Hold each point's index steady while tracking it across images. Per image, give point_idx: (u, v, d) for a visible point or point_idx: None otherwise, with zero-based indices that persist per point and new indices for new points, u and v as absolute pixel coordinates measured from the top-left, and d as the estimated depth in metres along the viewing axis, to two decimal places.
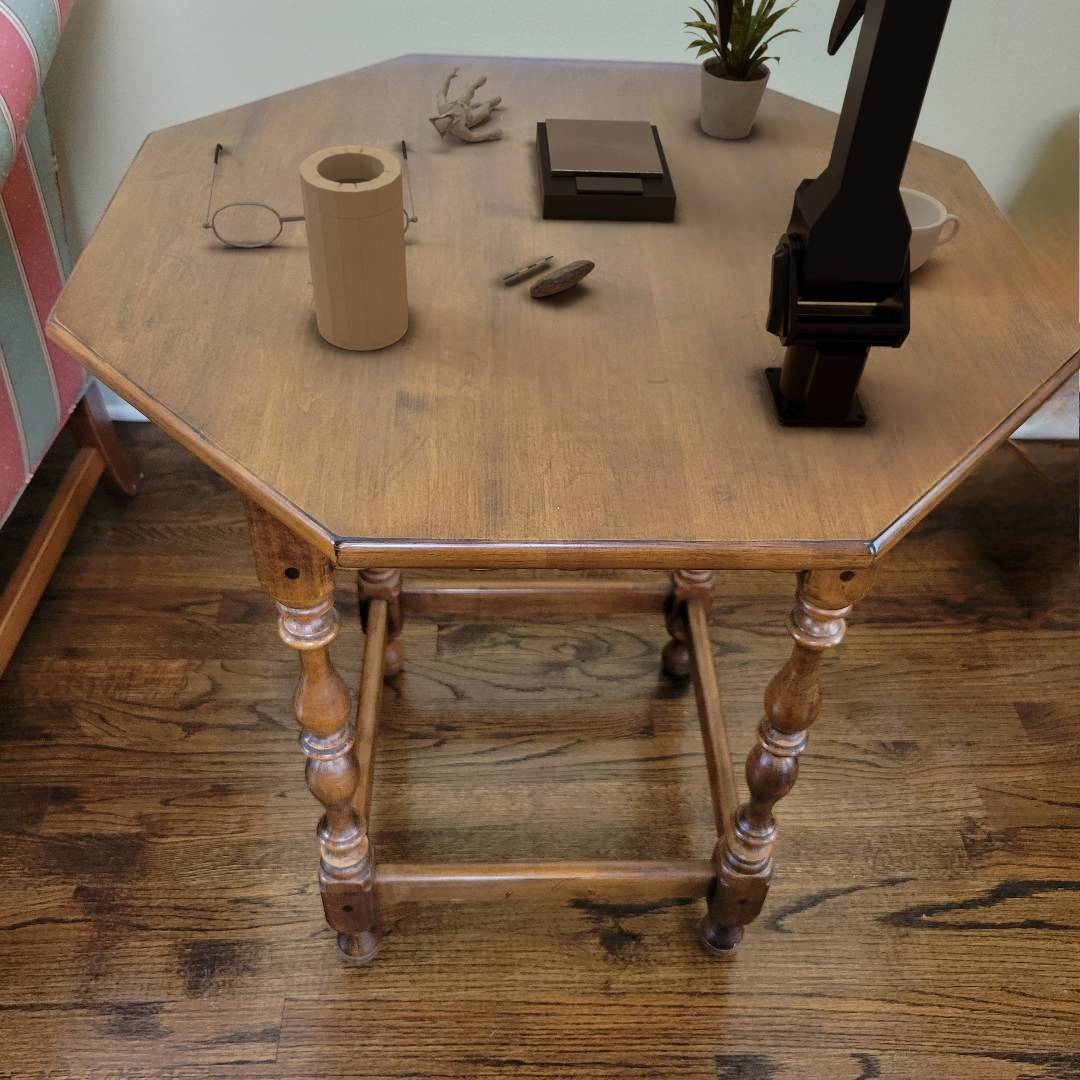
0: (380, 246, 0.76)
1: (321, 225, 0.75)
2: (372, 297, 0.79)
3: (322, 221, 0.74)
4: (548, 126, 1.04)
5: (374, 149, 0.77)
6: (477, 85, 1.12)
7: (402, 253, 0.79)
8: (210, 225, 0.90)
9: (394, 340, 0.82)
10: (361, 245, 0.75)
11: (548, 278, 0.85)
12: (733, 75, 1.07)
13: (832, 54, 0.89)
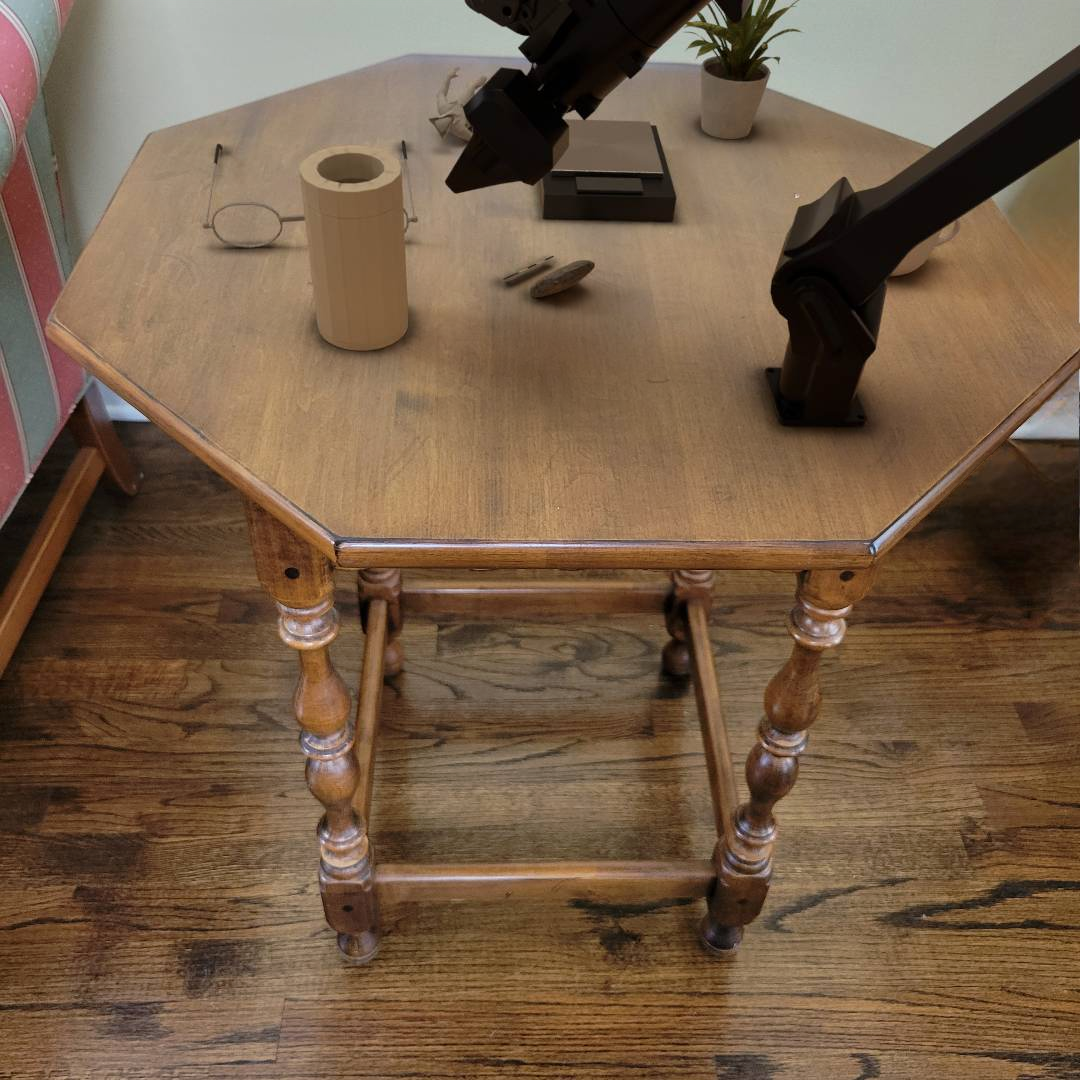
0: (380, 246, 0.76)
1: (321, 225, 0.75)
2: (372, 297, 0.79)
3: (322, 221, 0.74)
4: None
5: (374, 149, 0.77)
6: (477, 85, 1.12)
7: (402, 253, 0.79)
8: (210, 225, 0.90)
9: (394, 340, 0.82)
10: (361, 245, 0.75)
11: (548, 278, 0.85)
12: (733, 75, 1.07)
13: None
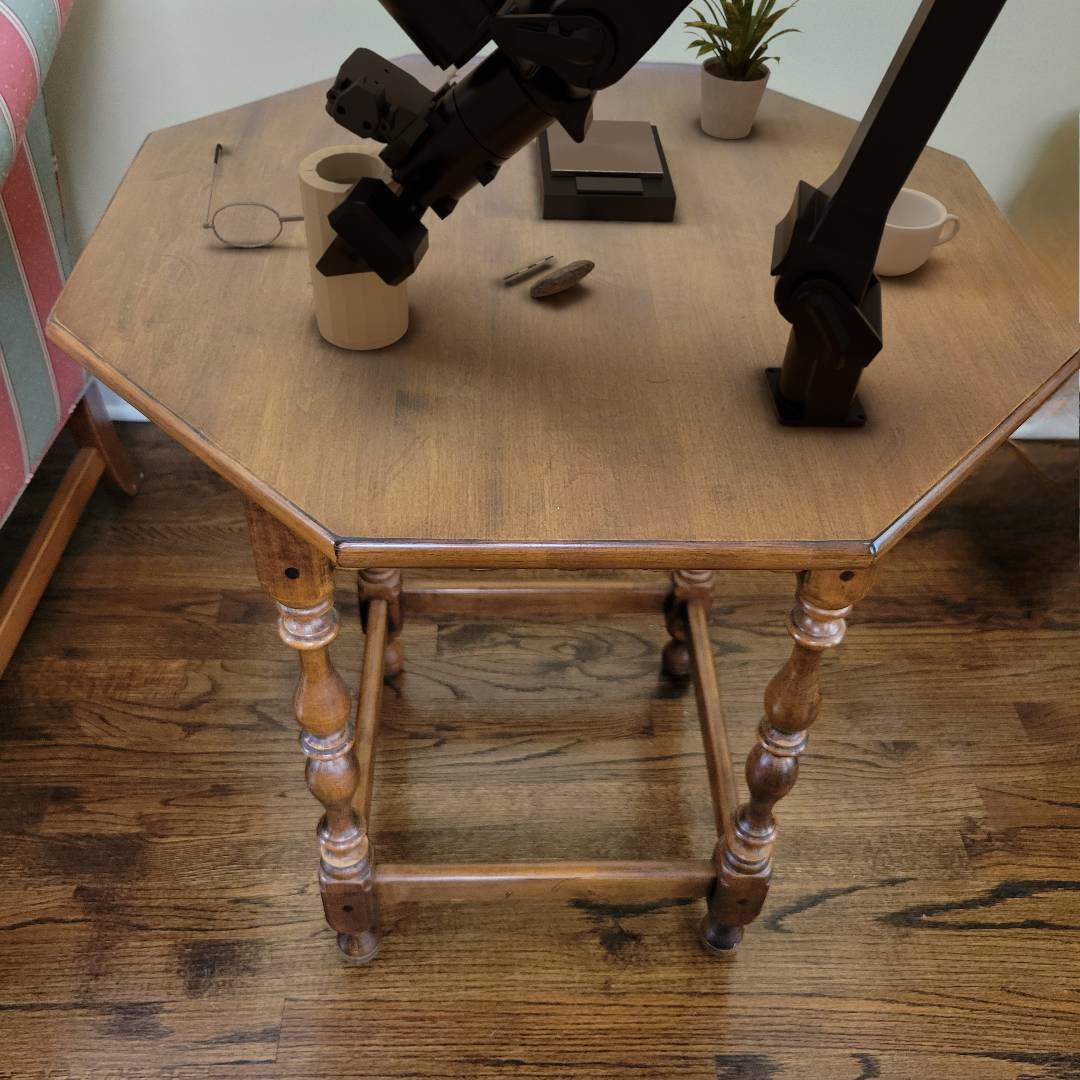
0: None
1: (320, 226, 0.75)
2: (371, 297, 0.78)
3: (320, 222, 0.74)
4: None
5: (373, 149, 0.77)
6: None
7: None
8: (210, 225, 0.90)
9: (394, 339, 0.82)
10: None
11: (548, 278, 0.85)
12: (733, 75, 1.07)
13: None
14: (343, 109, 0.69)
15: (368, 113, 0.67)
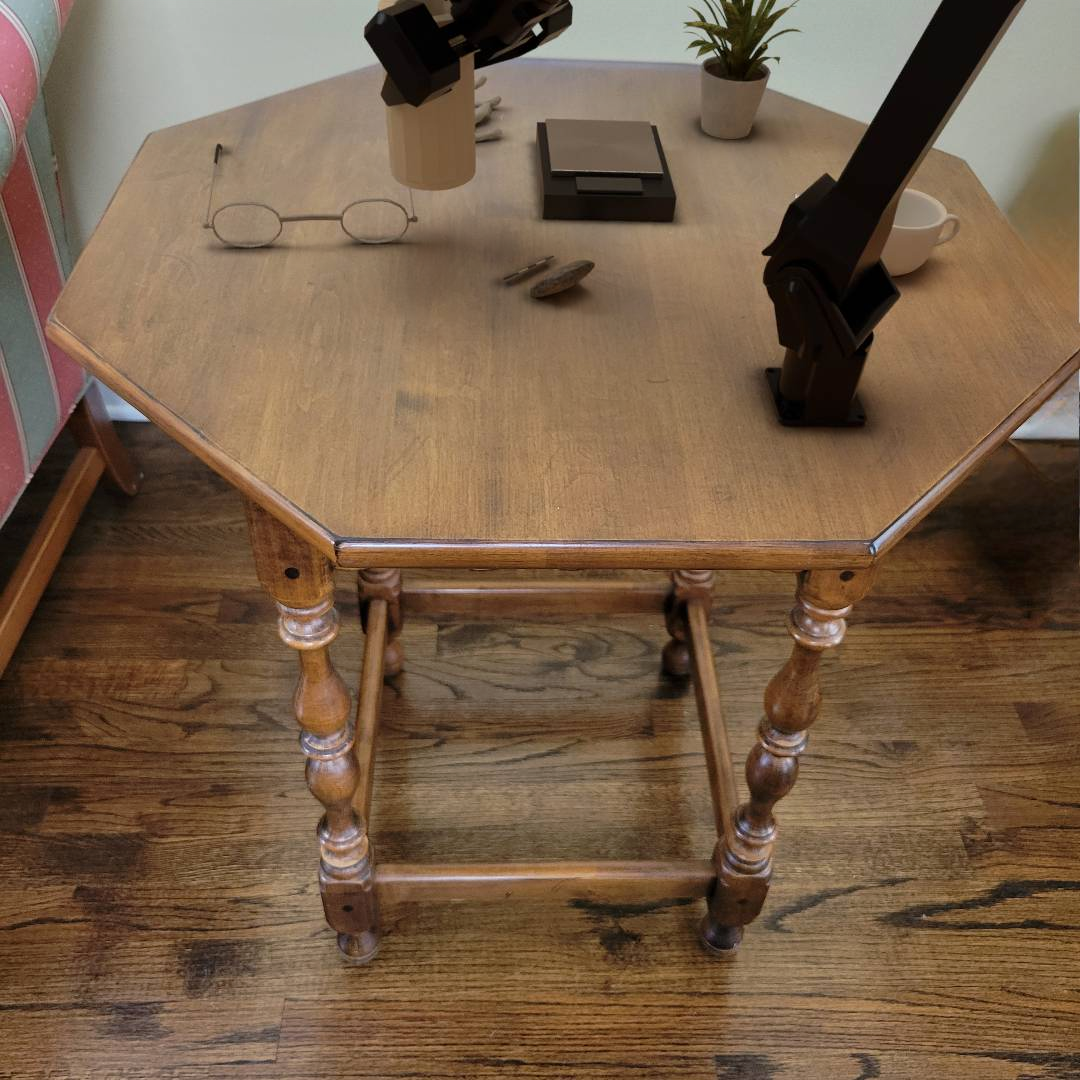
0: None
1: None
2: (427, 135, 0.83)
3: None
4: (548, 126, 1.04)
5: None
6: (477, 85, 1.12)
7: (464, 99, 0.82)
8: (210, 225, 0.90)
9: (450, 186, 0.86)
10: None
11: (548, 278, 0.85)
12: (733, 75, 1.07)
13: None
14: None
15: None
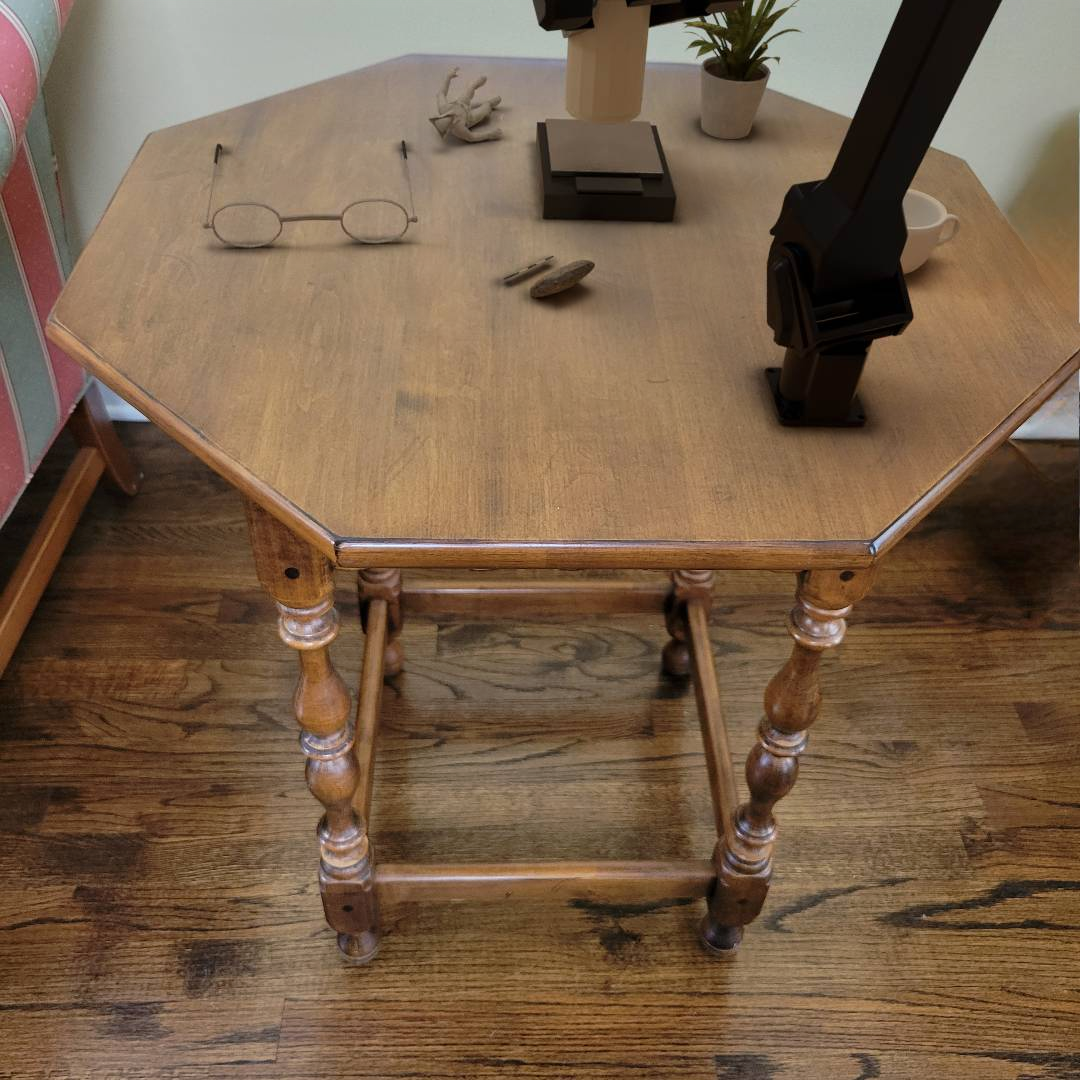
0: (598, 24, 0.91)
1: None
2: (587, 69, 0.94)
3: None
4: (548, 126, 1.04)
5: None
6: (477, 85, 1.12)
7: (625, 44, 0.92)
8: (210, 225, 0.90)
9: (601, 122, 0.96)
10: None
11: (548, 278, 0.85)
12: (733, 75, 1.07)
13: None
14: None
15: None
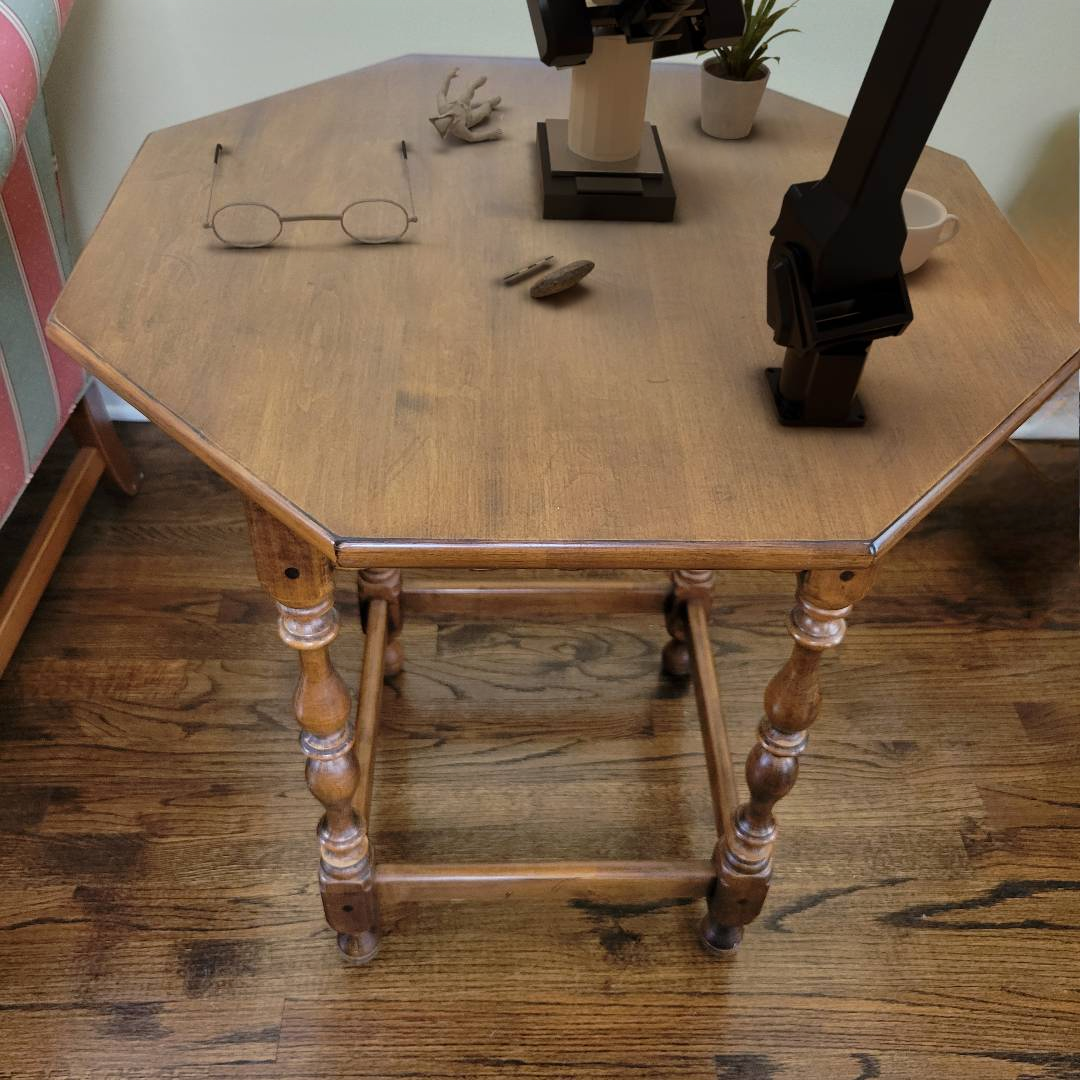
0: (601, 67, 0.93)
1: None
2: (589, 109, 0.96)
3: None
4: (548, 126, 1.04)
5: None
6: (477, 85, 1.12)
7: (627, 87, 0.95)
8: (210, 225, 0.90)
9: (602, 159, 0.99)
10: (588, 58, 0.94)
11: (548, 278, 0.85)
12: (733, 75, 1.07)
13: None
14: None
15: None
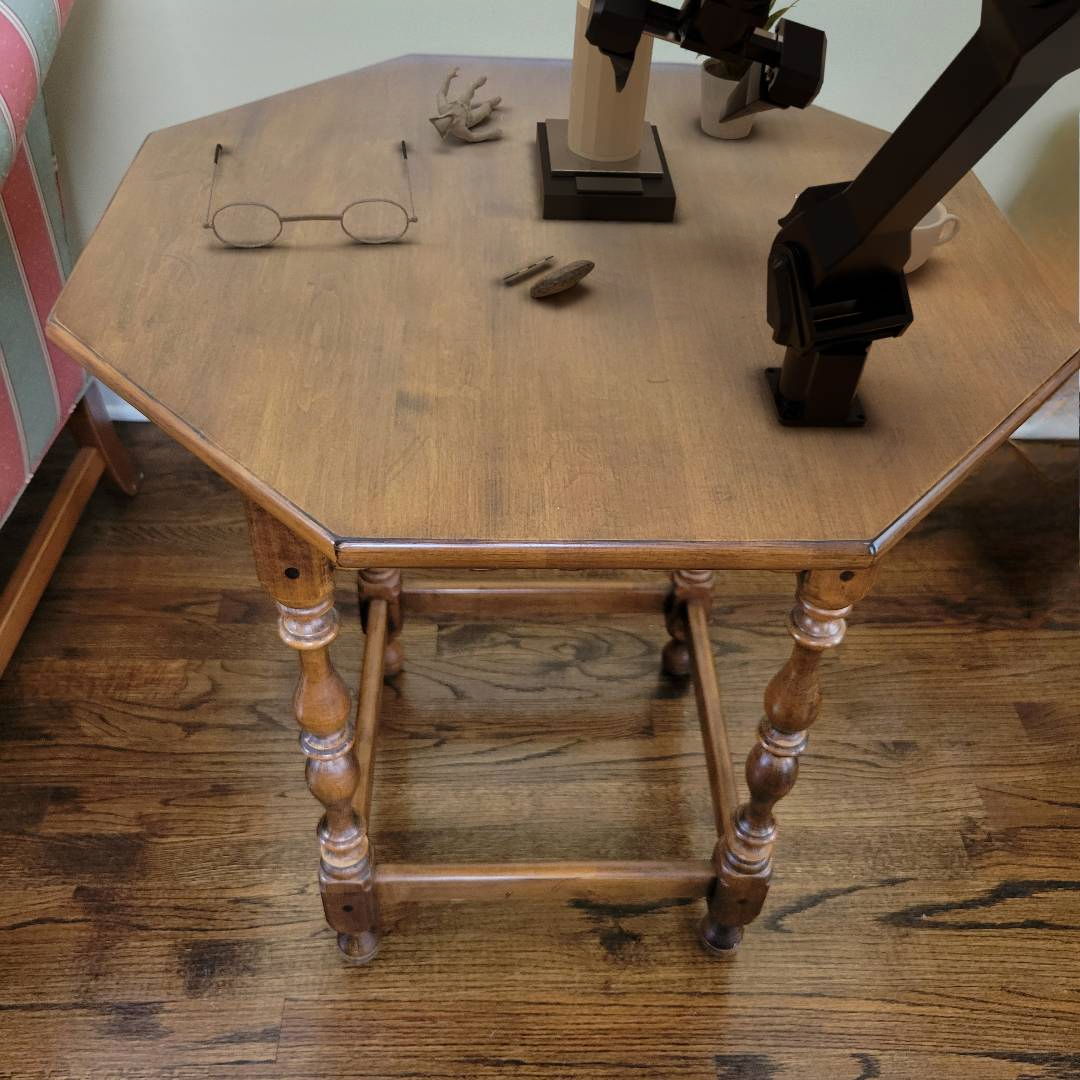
0: (601, 67, 0.93)
1: None
2: (589, 109, 0.96)
3: (575, 30, 0.94)
4: (548, 126, 1.04)
5: (653, 0, 0.93)
6: (477, 85, 1.12)
7: (627, 87, 0.95)
8: (210, 225, 0.90)
9: (602, 159, 0.99)
10: (588, 58, 0.94)
11: (548, 278, 0.85)
12: (733, 75, 1.07)
13: None
14: None
15: None
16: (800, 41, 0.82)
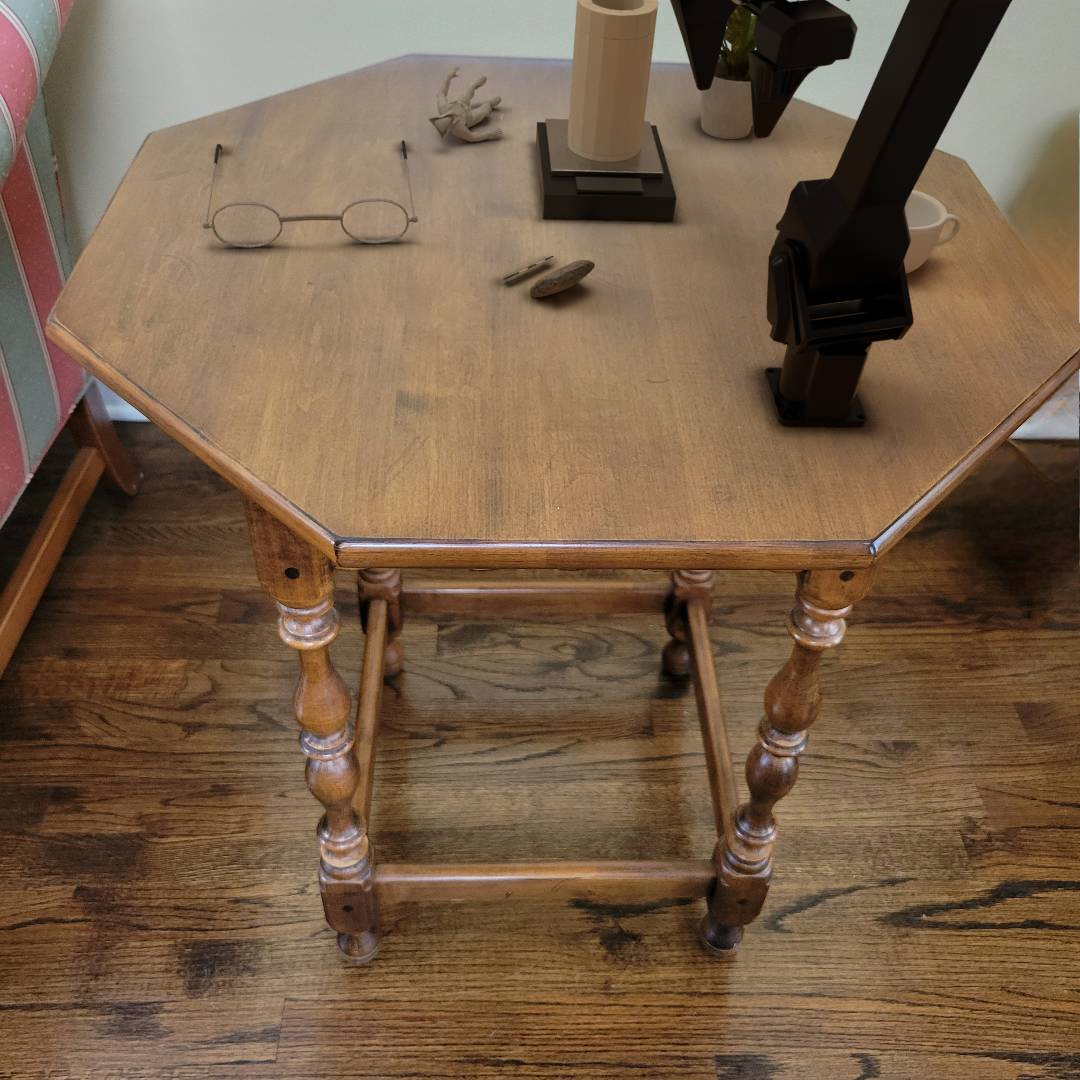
0: (601, 67, 0.93)
1: None
2: (589, 109, 0.96)
3: (575, 30, 0.94)
4: (548, 126, 1.04)
5: (653, 0, 0.93)
6: (477, 85, 1.12)
7: (627, 87, 0.95)
8: (210, 225, 0.90)
9: (602, 159, 0.99)
10: (588, 58, 0.94)
11: (548, 278, 0.85)
12: (733, 75, 1.07)
13: (755, 135, 0.81)
14: None
15: None
16: (814, 7, 0.73)
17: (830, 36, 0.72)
